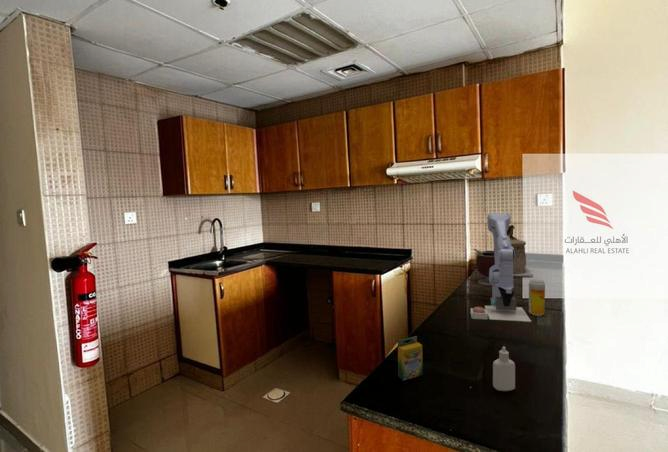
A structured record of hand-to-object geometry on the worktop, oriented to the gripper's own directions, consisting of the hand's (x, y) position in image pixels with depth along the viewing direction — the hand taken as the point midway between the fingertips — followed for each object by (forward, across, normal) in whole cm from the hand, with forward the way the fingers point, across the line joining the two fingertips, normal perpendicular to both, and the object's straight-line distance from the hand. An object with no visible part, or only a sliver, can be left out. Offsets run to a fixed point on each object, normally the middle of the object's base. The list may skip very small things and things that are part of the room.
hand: (505, 304), depth 158 cm
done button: (+2, +7, -12) cm, 14 cm away
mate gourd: (+4, -53, -1) cm, 54 cm away
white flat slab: (+4, +1, 0) cm, 4 cm away
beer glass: (+4, 0, +12) cm, 13 cm away
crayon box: (+4, +64, -37) cm, 74 cm away
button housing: (+4, +7, -12) cm, 14 cm away
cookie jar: (+4, -80, +15) cm, 82 cm away
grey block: (+2, 0, 0) cm, 2 cm away
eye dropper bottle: (+4, +65, -11) cm, 66 cm away
